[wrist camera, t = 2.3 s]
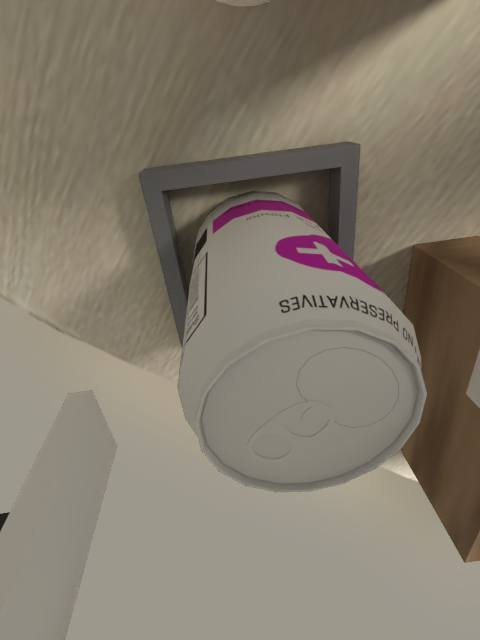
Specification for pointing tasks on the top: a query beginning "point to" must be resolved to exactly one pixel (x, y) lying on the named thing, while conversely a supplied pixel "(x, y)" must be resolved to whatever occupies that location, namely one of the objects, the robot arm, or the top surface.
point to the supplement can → (292, 352)
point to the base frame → (238, 168)
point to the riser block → (448, 384)
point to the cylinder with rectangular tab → (243, 2)
